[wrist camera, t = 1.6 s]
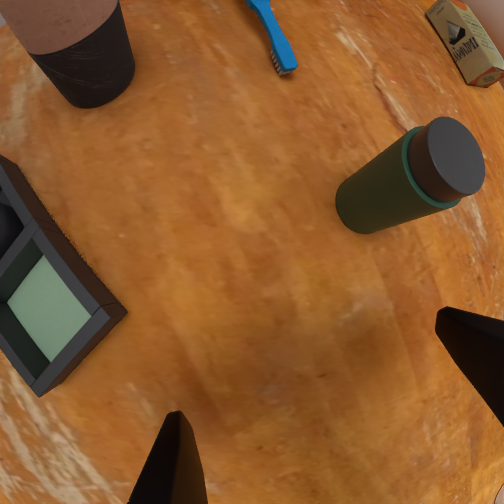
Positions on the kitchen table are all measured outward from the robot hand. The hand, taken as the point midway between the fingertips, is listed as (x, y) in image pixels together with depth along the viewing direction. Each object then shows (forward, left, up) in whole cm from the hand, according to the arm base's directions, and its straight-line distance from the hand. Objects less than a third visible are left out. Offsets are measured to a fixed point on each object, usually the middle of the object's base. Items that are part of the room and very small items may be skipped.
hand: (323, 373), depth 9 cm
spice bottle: (0, -12, -14) cm, 18 cm away
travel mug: (+25, -6, -14) cm, 29 cm away
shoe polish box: (+7, -45, -11) cm, 47 cm away
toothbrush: (+21, -21, -9) cm, 31 cm away
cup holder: (+16, +10, -14) cm, 24 cm away
